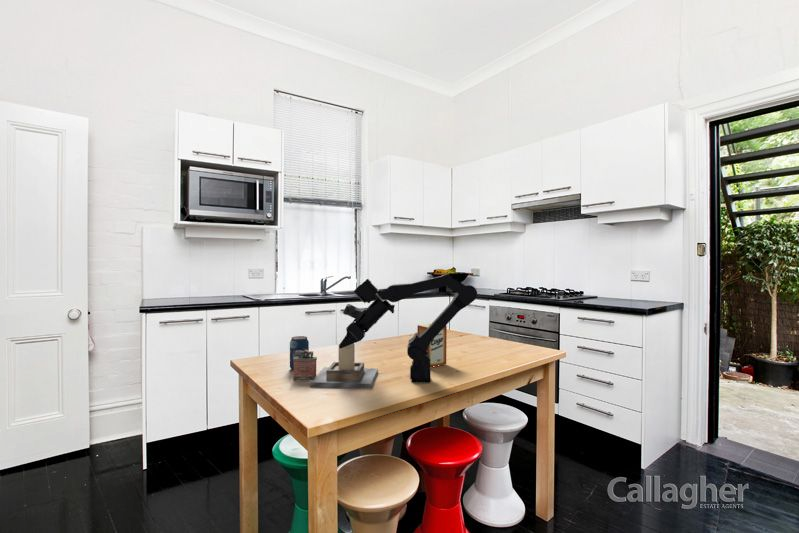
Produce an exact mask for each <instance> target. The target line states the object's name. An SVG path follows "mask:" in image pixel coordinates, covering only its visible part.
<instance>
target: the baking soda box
mask: <svg viewBox="0 0 799 533" xmlns="http://www.w3.org/2000/svg"><path fill="white" fill-rule="evenodd" d="M431 324H432V323H426V324H418V325H417V327H416V328H417V329H416V330H417V333H418V335H420V334H421V333H423V332H424V331H425V330H426V329H427V328H428V327H429V326H430V325H431ZM447 328H448V324H447V325H446V326H445V327H444V328H443V329H442V330H441V331H440V332H439V334H438V335H437V336H436V337H435V338H434V339H433V340H432V342H431V343H430V345H429V347H428V349H427V352H428V353H429V356H430V367H432V368H434V367H433V366H437V367H439V366H438V365H442V366H444V365H443V364H446V365H447Z"/></svg>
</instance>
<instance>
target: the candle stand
mask: <svg viewBox="0 0 799 533" xmlns="http://www.w3.org/2000/svg"><path fill="white" fill-rule="evenodd" d="M378 373H379V368H373V367H371V368H368V367H367V368H366V367H365V362H359V361H358V362H355V368H354V370H339V361H333V362H332V363H331V364H330V366H329V367H328V366H326V367H325V366H324V367H323V368H322V369H321V370H319V372H318V373H316V376H315V377H314V378H313V380H311V381H309V387H310V388H338V387H339V388H341V387H342V388H345V389H348V388H349V389H372V387H373V386H374V383H373V382H375V380H376V377H377V376H378ZM376 375H377V376H376Z"/></svg>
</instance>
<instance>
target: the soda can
mask: <svg viewBox="0 0 799 533" xmlns="http://www.w3.org/2000/svg"><path fill="white" fill-rule="evenodd" d="M309 345H310V344H309V340H308V336H304V335H303V336H301V335H300V336H299V335H298V336H297V335H295V336H292V337H291V340H290V342H289V368H290V370H291V371H292V370H293V371H292V372H294V361H293V358H294V357H299V355H295V352H296V351H305V350H308V351H310V350H309V348H310V346H309ZM302 356H303V355H301V357H302Z"/></svg>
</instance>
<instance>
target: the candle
mask: <svg viewBox="0 0 799 533" xmlns="http://www.w3.org/2000/svg"><path fill="white" fill-rule="evenodd" d="M341 342H342V340H341V341H340V342H339V343H338V362H339V370H354V368H355V361H356V360H355V356H356V355H355V351H356V349H355V345H356V343H353V344H351V345H348V346H346V347H343V348H340V347H339V345H340V343H341Z"/></svg>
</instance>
